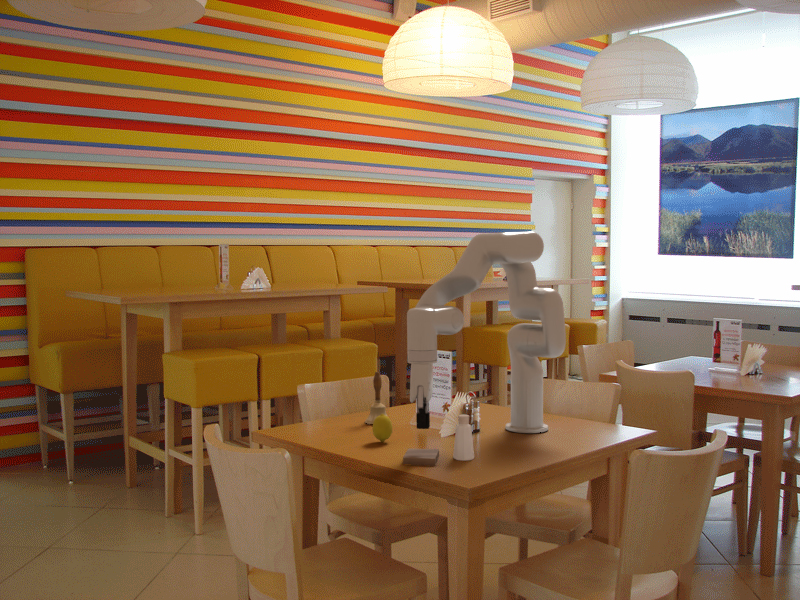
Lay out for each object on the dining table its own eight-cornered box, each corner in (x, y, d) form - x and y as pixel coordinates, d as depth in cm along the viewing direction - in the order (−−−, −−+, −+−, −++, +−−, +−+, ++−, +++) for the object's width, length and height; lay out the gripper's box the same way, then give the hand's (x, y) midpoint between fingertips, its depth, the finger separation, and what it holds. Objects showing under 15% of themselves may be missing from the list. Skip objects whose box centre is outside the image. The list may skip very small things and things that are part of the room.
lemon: (385, 445, 209) (385, 416, 208) (368, 443, 212) (368, 414, 211) (396, 441, 213) (396, 413, 213) (379, 439, 216) (379, 411, 216)
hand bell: (391, 425, 236) (390, 373, 235) (364, 425, 236) (363, 373, 235) (391, 419, 244) (391, 370, 244) (365, 419, 244) (365, 370, 244)
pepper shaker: (448, 458, 194) (448, 415, 194) (462, 454, 198) (462, 412, 198) (464, 462, 191) (464, 418, 190) (478, 458, 194) (478, 415, 194)
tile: (408, 448, 198) (402, 457, 188) (439, 449, 197) (435, 458, 187) (408, 455, 198) (403, 465, 188) (439, 456, 197) (435, 466, 187)
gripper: (411, 352, 202) (412, 421, 203) (403, 360, 187) (404, 434, 188) (439, 352, 201) (440, 422, 202) (434, 360, 186) (434, 435, 187)
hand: (423, 428), depth 195 cm, fingers closed
